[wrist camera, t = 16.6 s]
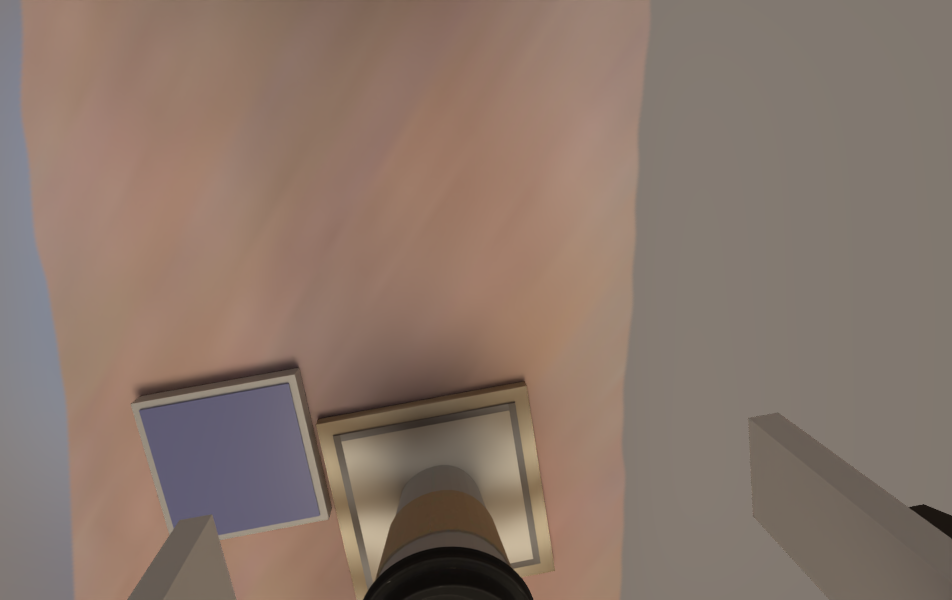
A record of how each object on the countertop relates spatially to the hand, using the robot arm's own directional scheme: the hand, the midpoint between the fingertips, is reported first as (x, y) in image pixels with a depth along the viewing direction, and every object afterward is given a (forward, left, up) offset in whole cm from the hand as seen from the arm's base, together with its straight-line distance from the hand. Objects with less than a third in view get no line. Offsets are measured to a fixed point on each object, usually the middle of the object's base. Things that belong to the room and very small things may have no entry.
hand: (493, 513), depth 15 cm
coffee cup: (+15, -3, -28) cm, 32 cm away
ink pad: (+9, -17, -29) cm, 35 cm away
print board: (+15, -3, -29) cm, 33 cm away
